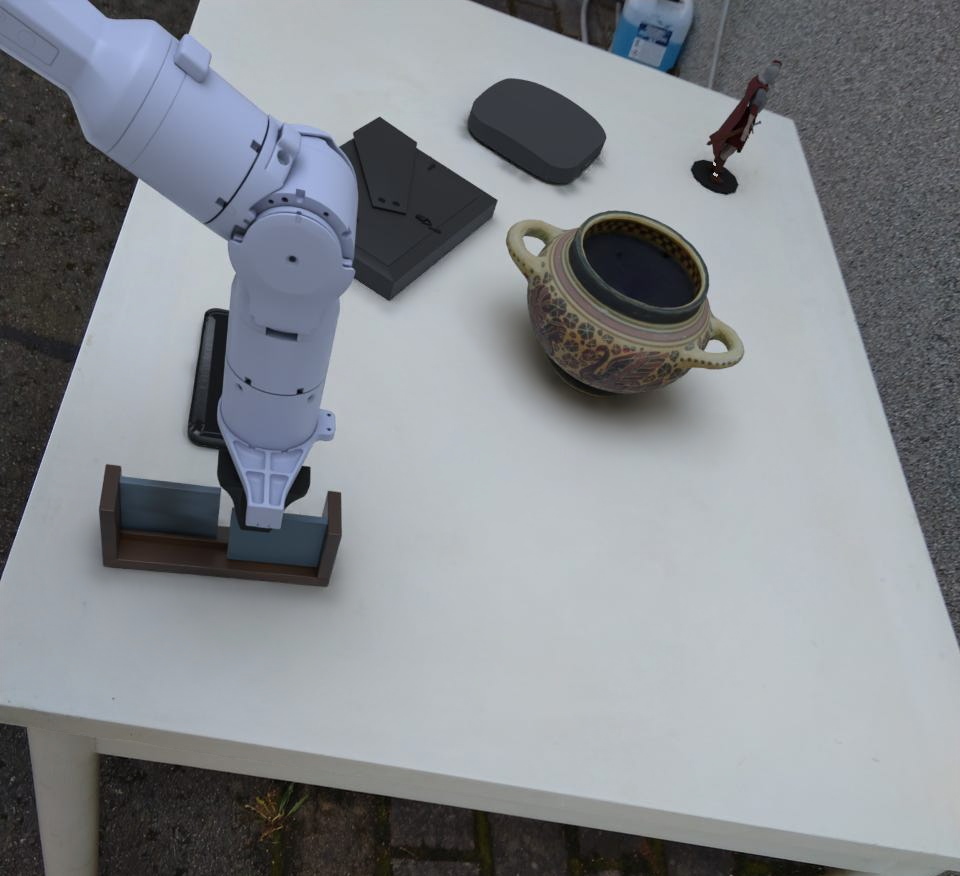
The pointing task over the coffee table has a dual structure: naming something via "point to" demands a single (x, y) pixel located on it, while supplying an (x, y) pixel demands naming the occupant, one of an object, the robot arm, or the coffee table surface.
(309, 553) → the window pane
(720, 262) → the coffee table surface
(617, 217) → the ceramic bowl
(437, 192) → the picture frame
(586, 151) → the media streaming box
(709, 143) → the figurine
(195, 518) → the window frame
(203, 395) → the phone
